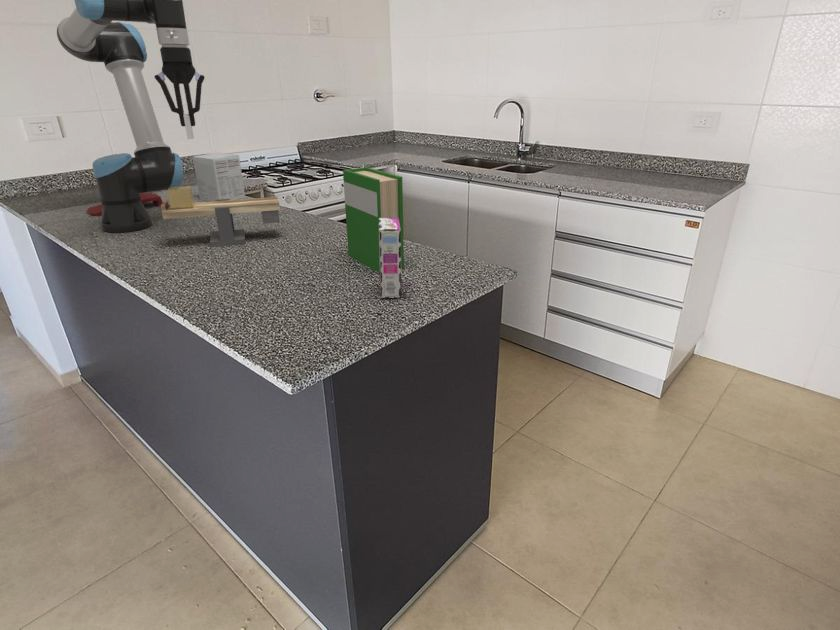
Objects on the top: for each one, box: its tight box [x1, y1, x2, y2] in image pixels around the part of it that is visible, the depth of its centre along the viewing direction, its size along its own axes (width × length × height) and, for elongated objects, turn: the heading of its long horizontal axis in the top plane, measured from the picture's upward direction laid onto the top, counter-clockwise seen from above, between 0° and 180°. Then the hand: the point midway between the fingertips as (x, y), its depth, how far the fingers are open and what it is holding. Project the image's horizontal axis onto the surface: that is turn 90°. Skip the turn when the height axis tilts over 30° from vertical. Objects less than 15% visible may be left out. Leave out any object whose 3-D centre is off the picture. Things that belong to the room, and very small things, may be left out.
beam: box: [160, 196, 281, 225], centre depth 159 cm, size 10×33×8 cm, turn 108°
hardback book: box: [342, 167, 405, 274], centre depth 138 cm, size 18×7×24 cm, turn 34°
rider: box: [166, 185, 195, 210], centre depth 154 cm, size 5×6×6 cm
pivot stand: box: [209, 199, 246, 248], centre depth 160 cm, size 12×10×12 cm
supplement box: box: [191, 152, 246, 202], centre depth 213 cm, size 13×13×18 cm
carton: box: [86, 192, 163, 217], centre depth 201 cm, size 12×5×25 cm
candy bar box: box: [379, 218, 402, 299], centre depth 121 cm, size 11×5×16 cm, turn 5°
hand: (190, 138), depth 150 cm, fingers closed
